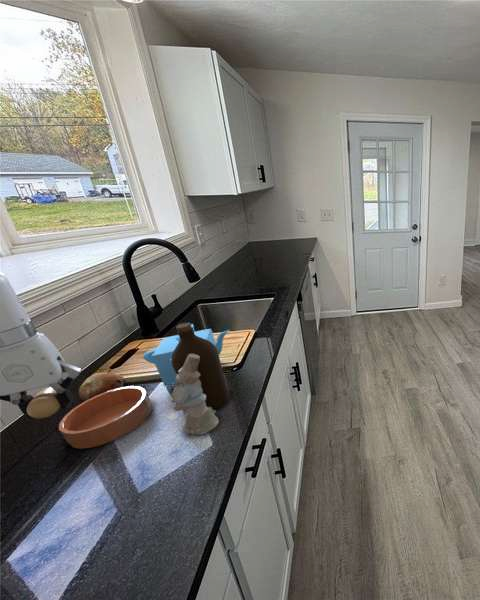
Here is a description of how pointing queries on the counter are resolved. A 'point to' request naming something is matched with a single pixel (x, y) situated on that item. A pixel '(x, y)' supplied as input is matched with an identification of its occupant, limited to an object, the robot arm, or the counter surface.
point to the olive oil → (202, 365)
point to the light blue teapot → (166, 349)
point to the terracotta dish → (105, 417)
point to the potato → (43, 404)
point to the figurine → (193, 399)
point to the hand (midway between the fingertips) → (51, 409)
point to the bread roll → (100, 385)
